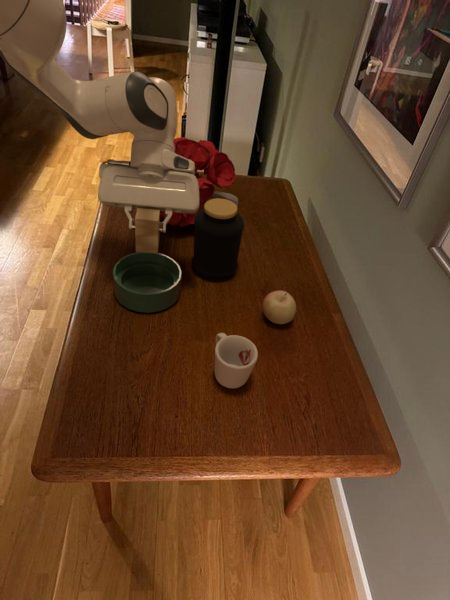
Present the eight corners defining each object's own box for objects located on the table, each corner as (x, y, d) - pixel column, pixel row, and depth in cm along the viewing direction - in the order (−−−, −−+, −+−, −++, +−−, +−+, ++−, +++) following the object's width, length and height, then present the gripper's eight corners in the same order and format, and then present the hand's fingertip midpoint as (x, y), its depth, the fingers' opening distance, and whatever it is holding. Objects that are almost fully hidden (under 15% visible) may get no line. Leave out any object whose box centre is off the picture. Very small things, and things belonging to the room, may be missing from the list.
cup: (197, 357, 81) (201, 330, 76) (232, 346, 85) (238, 320, 79) (221, 399, 75) (227, 373, 69) (258, 386, 78) (266, 360, 73)
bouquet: (197, 211, 135) (120, 180, 113) (238, 152, 125) (163, 105, 104) (226, 252, 123) (146, 225, 101) (274, 189, 113) (198, 145, 92)
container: (179, 265, 102) (184, 202, 90) (212, 248, 109) (220, 188, 97) (214, 290, 97) (224, 227, 85) (245, 270, 104) (258, 209, 92)
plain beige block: (135, 251, 83) (134, 218, 77) (138, 239, 86) (137, 206, 81) (157, 253, 83) (158, 220, 78) (159, 241, 87) (160, 208, 81)
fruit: (291, 309, 95) (300, 284, 90) (291, 332, 90) (301, 306, 85) (260, 304, 95) (267, 278, 90) (258, 326, 90) (265, 300, 85)
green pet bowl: (119, 318, 86) (117, 298, 82) (110, 274, 96) (108, 254, 92) (186, 309, 91) (188, 289, 87) (171, 268, 101) (172, 249, 97)
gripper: (97, 152, 77) (91, 222, 77) (202, 163, 80) (198, 232, 79) (102, 163, 84) (98, 229, 83) (200, 174, 86) (196, 237, 86)
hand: (147, 230), depth 81 cm, fingers closed on plain beige block, 4 cm apart
